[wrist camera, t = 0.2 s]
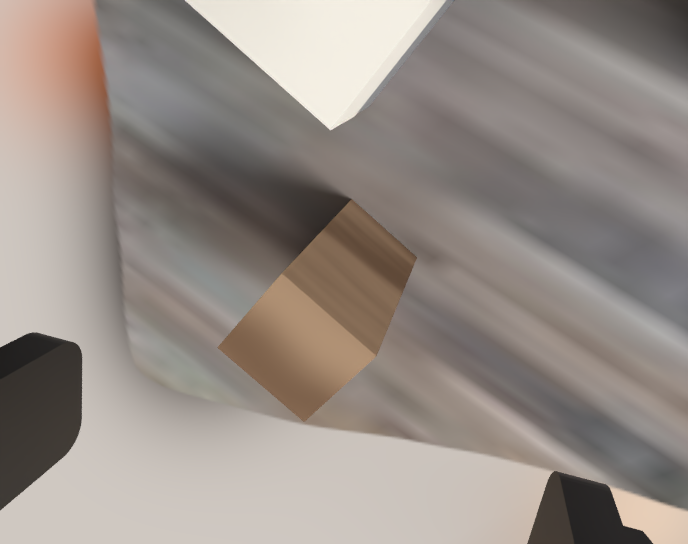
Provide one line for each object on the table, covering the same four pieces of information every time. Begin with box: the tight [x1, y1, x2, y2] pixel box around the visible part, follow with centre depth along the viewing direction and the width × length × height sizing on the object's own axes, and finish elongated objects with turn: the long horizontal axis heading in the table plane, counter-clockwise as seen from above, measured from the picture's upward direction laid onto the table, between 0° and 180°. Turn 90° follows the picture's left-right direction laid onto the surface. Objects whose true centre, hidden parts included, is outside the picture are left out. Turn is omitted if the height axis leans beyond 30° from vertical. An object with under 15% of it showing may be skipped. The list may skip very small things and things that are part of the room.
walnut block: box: [218, 199, 417, 421], centre depth 28 cm, size 5×5×11 cm
